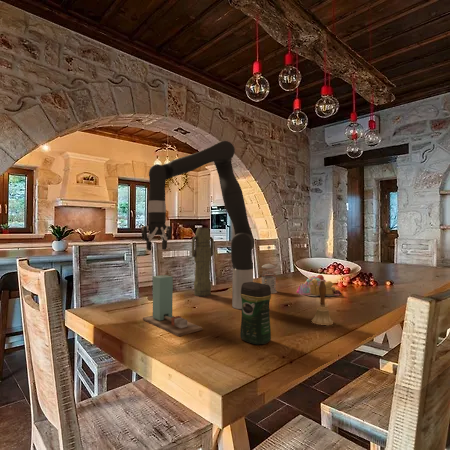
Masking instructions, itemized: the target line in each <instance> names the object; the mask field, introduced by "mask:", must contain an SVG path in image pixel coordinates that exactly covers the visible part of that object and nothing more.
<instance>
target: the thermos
mask: <svg viewBox="0 0 450 450" xmlns="http://www.w3.org/2000/svg"><path fill="white" fill-rule="evenodd" d="M213 256H214V238H213V237H212V236H211V231H210V229H209V228H208V227H198V228H197V229H196V231H195V235H194V236H193V237H192V239H191V257H192V258H194V260H193V261H194V281H193V291H194V294H193V295H194V297H195V296H196V297H209V296H211V291H212V280H211V262H212V257H213Z"/></svg>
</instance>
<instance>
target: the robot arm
mask: <svg viewBox="0 0 450 450" xmlns="http://www.w3.org/2000/svg"><path fill="white" fill-rule="evenodd" d="M235 151H236V149H235V145H234V144H233V143H232V142H230V141H228V140H221V141H220V142H217V143H215V144H213V145H211V146H210V147H207V148H204V149H203V150H199V151H197V152H195V153H192V154H188V155H185V156H182V157H178V158H175V159H173V160H170V161H169V162H167V163H164V164H157V163H156V164H153V165H152V166H151V167H150V168H149V171H148V177H149V178H148V179H149V190H148V203H147V204H148V206H147V209H148V210H147V221H148V222H147V223H148V224H147V225H142V226H141V227H140V228H141V229H140V230H141V239H142V241H145V243H146V250H147V251H152V245H153V244H152V239H153V238H154V237H155V236H159V237H160V238H161V243H162V244H161V249H162V251H163V250H165V251H166V250H167V248H168V241H169V240H171V239H172V228H173V227H172V225H166V221H167V206H166V181H167V180H169V179H171V178H174V177H178V176H181V175H184V174H187V173H190V172H193V171H194V170H196V169H198V168H201V167H203V166H205V165H207V164H210V163H214V166H215V169H216V171H217V175H218V179H219V185H220V191H221V195H222V201H223V204H224V208H225V210H226V213H227V215H228V216H229V219H230V221H231V223H232V226H233V231H234V236H233V237H232V239H231V244H230V251H231V253H230V256H231V257H230V259H231V260H230V261H231V265H232V282H231V283H232V287H231V288H232V291H231V292H232V293H231V294H232V298H231V299H232V301H231V304H232V306H231V307H232V308H233V309H236V310H242V299H241V286H242V284H243V283H246V282H254V262H253V259H252V258H253V257H252V255H253V254H252V252H253V251H252V250H253V249H254V247H255V238H254V235H253V232H252V230H251V226H250V224H249V219H248V214H247V208H246V203H245V198H244V194H243V190H242V188H241V185H240V183H239V181H238V179H237V178H236V176H235V173H234V170H233V169H234V168H233V163H232V159H233V157H234V156H235Z"/></svg>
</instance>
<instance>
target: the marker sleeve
mask: <svg viewBox="0 0 450 450" xmlns="http://www.w3.org/2000/svg"><path fill="white" fill-rule="evenodd" d="M173 278H174V277H173V276H172V275H169V274H168V275H167V274H164V275H163V274H162V275H155V276H152V316H153V318H154V319H157V320H159V321H161V320H164V315H166V316H168V317H172V316H173V294H174V293H173V290H174V289H173V286H174V284H173V281H174V280H173Z"/></svg>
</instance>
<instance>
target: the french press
mask: <svg viewBox="0 0 450 450" xmlns="http://www.w3.org/2000/svg"><path fill="white" fill-rule="evenodd" d="M266 248H267V249H271V248H272V247H271V246H267V247H266ZM261 268H262V269H263V272H262V275H261V283H262V284H267V285H269V286H270V289H271V294H276V293H278V291H277V284H276V282H277V277H276V274H275V273H273V272H268V271H265V269H267V270H270V269H276V268H277V266H275V265H274V264H272V263H270V262H268V263H265V264H263V265H262V266H261Z"/></svg>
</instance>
